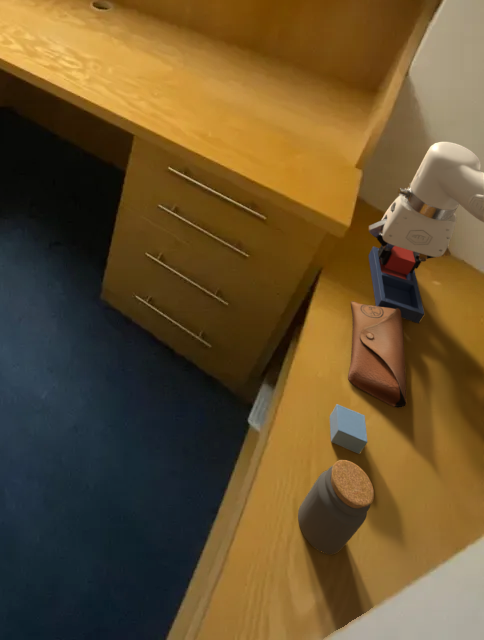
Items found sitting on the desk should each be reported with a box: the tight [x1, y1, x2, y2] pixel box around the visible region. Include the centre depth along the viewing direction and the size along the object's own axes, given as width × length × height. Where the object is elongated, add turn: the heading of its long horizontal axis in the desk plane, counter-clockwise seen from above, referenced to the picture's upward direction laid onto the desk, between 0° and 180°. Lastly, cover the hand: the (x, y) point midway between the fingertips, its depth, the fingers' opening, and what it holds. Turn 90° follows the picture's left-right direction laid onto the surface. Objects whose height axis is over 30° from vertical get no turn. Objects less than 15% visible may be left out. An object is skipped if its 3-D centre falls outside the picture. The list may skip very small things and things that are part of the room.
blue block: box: [329, 403, 368, 455], centre depth 80 cm, size 4×4×4 cm
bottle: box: [297, 459, 375, 555], centre depth 68 cm, size 6×6×15 cm
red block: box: [385, 246, 415, 275], centre depth 103 cm, size 4×4×4 cm
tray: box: [368, 246, 426, 324], centre depth 103 cm, size 7×13×3 cm, turn 156°
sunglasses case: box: [347, 300, 407, 409], centre depth 92 cm, size 18×7×7 cm, turn 151°
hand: (395, 262), depth 104 cm, fingers closed on red block, 3 cm apart
